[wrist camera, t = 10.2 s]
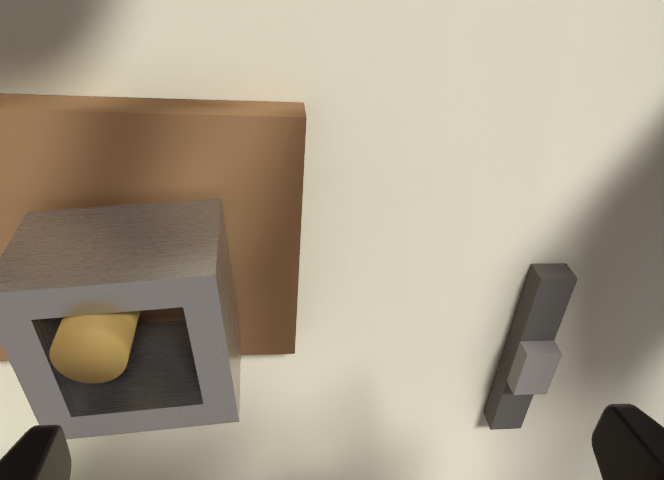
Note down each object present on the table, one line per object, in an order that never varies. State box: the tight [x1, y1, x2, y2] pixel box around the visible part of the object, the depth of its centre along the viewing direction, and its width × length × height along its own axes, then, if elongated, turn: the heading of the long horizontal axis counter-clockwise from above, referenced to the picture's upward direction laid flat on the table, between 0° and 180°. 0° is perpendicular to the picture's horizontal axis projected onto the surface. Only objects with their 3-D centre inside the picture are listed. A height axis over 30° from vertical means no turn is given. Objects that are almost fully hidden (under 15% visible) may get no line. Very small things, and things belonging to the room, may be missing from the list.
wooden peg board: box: [0, 94, 306, 384], centre depth 19 cm, size 12×10×6 cm
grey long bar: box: [484, 264, 577, 430], centre depth 26 cm, size 2×9×2 cm, turn 176°
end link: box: [0, 198, 241, 439], centre depth 19 cm, size 6×6×4 cm
